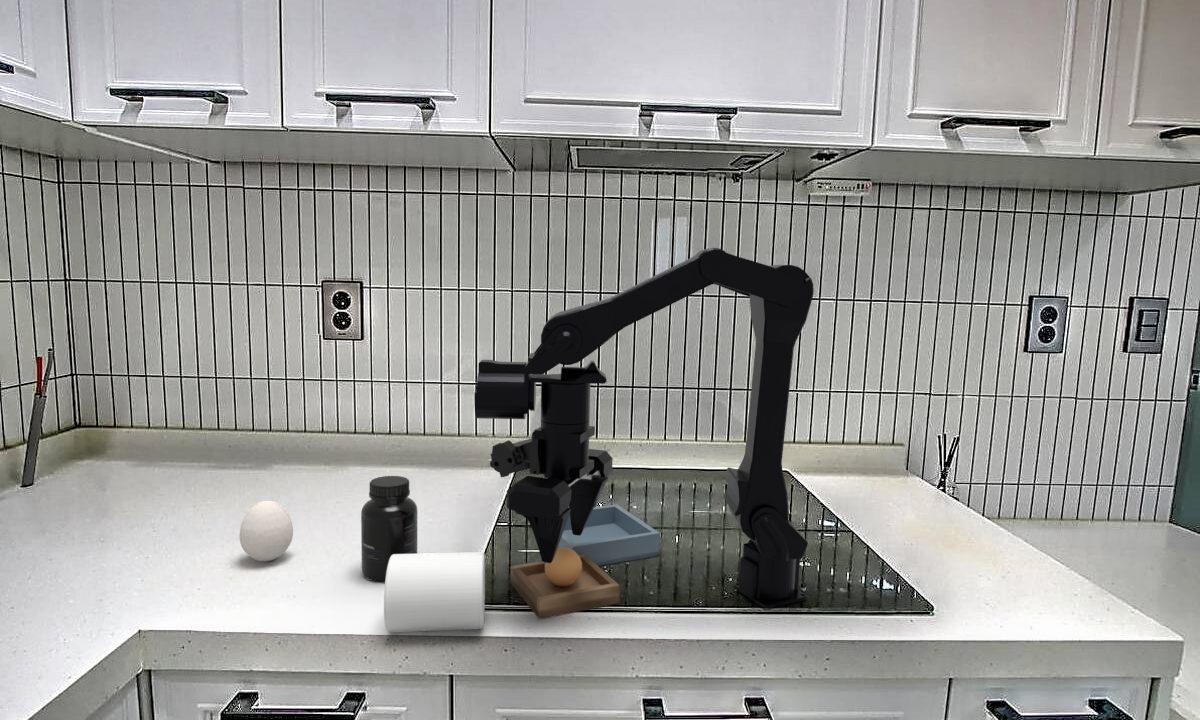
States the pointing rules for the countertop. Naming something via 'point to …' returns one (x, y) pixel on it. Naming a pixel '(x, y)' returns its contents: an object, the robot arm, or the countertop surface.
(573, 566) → the ball
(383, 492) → the supplement bottle
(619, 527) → the dish
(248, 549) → the egg
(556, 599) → the tray
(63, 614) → the countertop surface
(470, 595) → the mug
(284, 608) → the countertop surface
